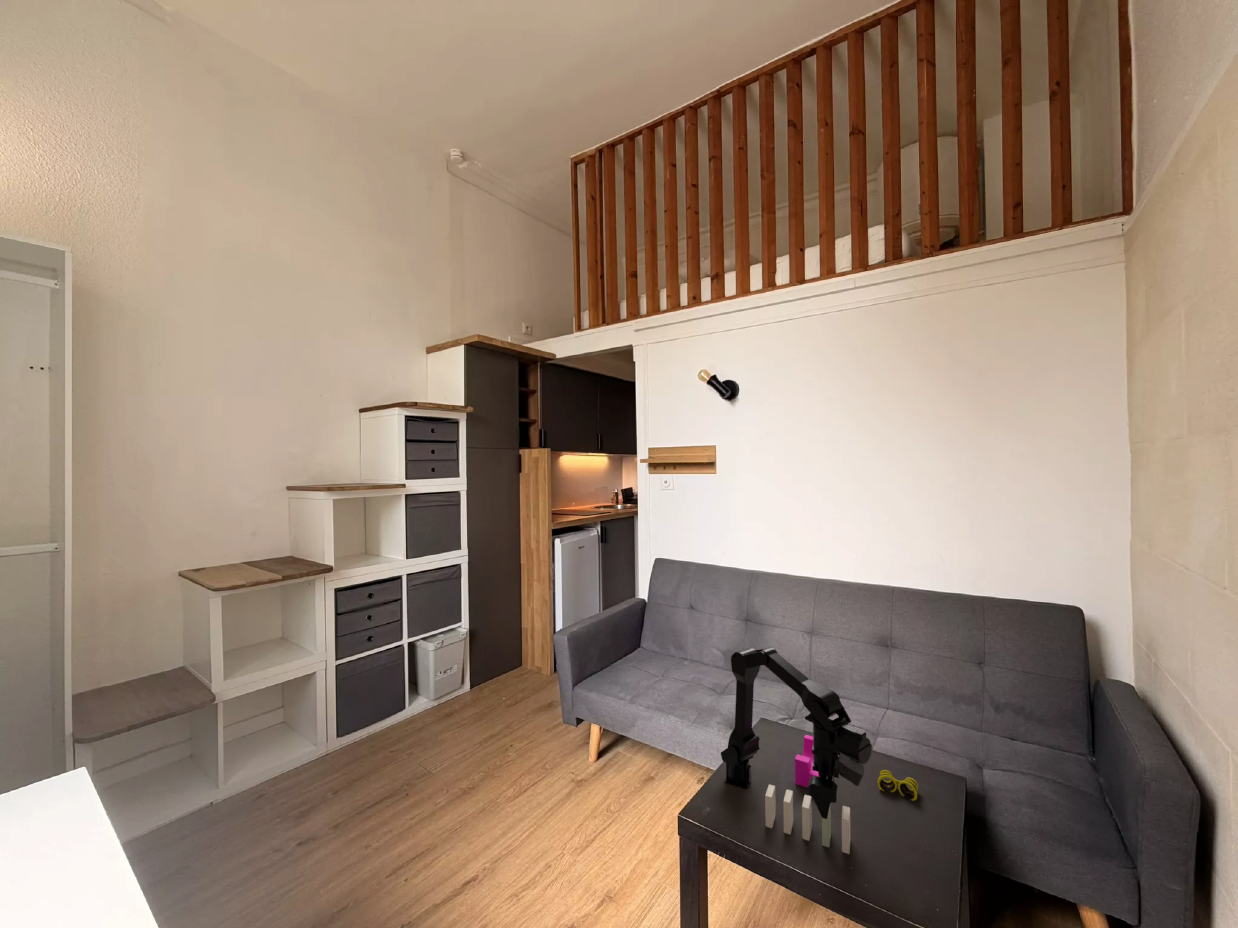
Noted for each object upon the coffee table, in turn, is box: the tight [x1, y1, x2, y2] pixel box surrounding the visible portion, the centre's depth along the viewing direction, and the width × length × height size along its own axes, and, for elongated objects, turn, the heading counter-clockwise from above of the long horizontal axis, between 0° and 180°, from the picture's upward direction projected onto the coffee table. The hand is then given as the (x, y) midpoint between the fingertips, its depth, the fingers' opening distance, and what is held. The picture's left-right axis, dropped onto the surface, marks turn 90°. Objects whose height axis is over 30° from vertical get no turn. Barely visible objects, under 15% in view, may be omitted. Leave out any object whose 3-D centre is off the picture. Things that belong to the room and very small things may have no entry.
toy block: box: [794, 734, 820, 789], centre depth 147 cm, size 15×6×8 cm, turn 148°
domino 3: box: [801, 794, 813, 842], centre depth 123 cm, size 2×5×8 cm, turn 152°
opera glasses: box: [877, 769, 919, 802], centre depth 138 cm, size 10×5×5 cm, turn 54°
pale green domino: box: [821, 803, 832, 848], centre depth 121 cm, size 2×5×8 cm, turn 152°
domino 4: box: [841, 805, 851, 855], centre depth 119 cm, size 2×5×8 cm, turn 152°
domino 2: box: [783, 789, 794, 835], centre depth 125 cm, size 2×5×8 cm, turn 152°
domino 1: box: [764, 783, 777, 829], centre depth 128 cm, size 2×5×8 cm, turn 152°
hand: (826, 806), depth 121 cm, fingers open, 9 cm apart
